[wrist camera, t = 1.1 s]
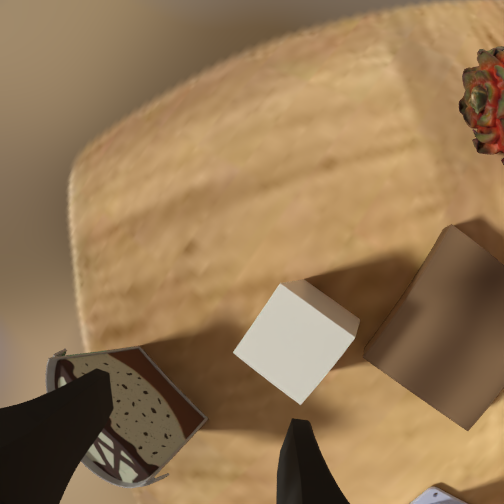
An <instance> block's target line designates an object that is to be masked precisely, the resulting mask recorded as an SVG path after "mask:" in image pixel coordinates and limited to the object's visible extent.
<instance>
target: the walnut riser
mask: <svg viewBox="0 0 504 504" xmlns="http://www.w3.org/2000/svg"><path fill="white" fill-rule="evenodd" d="M363 358H364V359H366V360H367V361H368V362H370V363H371V364H373V365H374V366H375V367H377V368H378V369H380V370H381V371H382V372H384V373H385V374H387V375H388V376H389V377H391V378H392V379H394V380H395V381H396V382H398V383H399V384H401V385H402V386H403V387H405V388H406V389H408V390H409V391H411V392H412V393H413V394H415V395H416V396H418V397H419V398H421V399H422V400H423V401H425V402H426V403H428V404H429V405H431V406H432V407H433V408H435V409H436V410H438V411H439V412H441V413H442V414H443V415H445V416H446V417H448V418H449V419H451V420H452V421H454V422H455V423H456V424H458V425H459V426H461V427H462V428H464V429H465V430H467V431H469V429H470V428H471V427H472V426H473V425H474V424H475V423H476V421H477V420H478V419H479V418H480V417H481V416H482V414H483V413H484V412H485V411H486V410H487V408H488V407H489V406H490V405H491V403H492V402H493V401H494V400H495V398H496V397H497V396H498V394H499V393H500V392H501V390H502V389H503V388H504V265H503V264H502V263H501V262H499V261H498V260H497V259H496V258H494V257H493V256H492V255H491V254H490V253H488V252H487V251H486V250H485V249H483V248H482V247H481V246H480V245H478V244H477V243H476V242H474V241H473V240H472V239H471V238H469V237H468V236H467V235H465V234H464V233H463V232H461V231H460V230H459V229H457V228H456V227H455V226H453V225H452V224H451V225H449V226H447V227H446V228H444V229H443V230H442V232H441V234H440V236H439V237H438V239H437V241H436V243H435V244H434V246H433V248H432V249H431V251H430V253H429V254H428V256H427V258H426V259H425V261H424V263H423V264H422V266H421V267H420V269H419V271H418V272H417V274H416V275H415V277H414V278H413V280H412V282H411V283H410V285H409V286H408V288H407V289H406V291H405V292H404V294H403V295H402V297H401V298H400V300H399V301H398V303H397V304H396V305H395V307H394V308H393V310H392V311H391V313H390V314H389V315H388V317H387V318H386V320H385V321H384V322H383V324H382V325H381V326H380V328H379V329H378V331H377V332H376V333H375V335H374V336H373V337H372V339H371V340H370V341H369V343H368V344H367V345H366V346H365V348H364V354H363Z"/></svg>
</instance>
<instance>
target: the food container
mask: <svg viewBox="0 0 504 504" xmlns="http://www.w3.org/2000/svg"><path fill="white" fill-rule="evenodd" d="M66 351H67V350H66V349H64V350H62V351H59V352H57V353H55V354H54V355H53V357H51V358H49V360H48V363H47V368H46V390H47V393H49V392H51V391H53V390H55V389H58V388H59V387H61V386H63V385H65V384H67V383H69V382H71V381H73V380H75V379H77V378H79V377H81V376H83V375H84V374H86V373H88V372H90V371H92V370H94V369H96V368H98V369H100V370H103V371H106V372H109V373H110V383H111V391H112V399H113V406H114V409H113V411H112V413H111V415H110V417H109V419H108V421H107V423H106V425H105V427H104V428H103V430H102V431H101V433H100V434H99V436H98V437H97V439H96V440H95V442H94V443H93V444H92V446H91V447H90V449H89V450H88V451H87V453H86V454H85V456H84V457H83V459H82V460H81V462H82V463H83V464H84V465H85V466H86V467H87V468H88V469H89V470H91V471H92V472H93V473H94V474H96V475H97V476H99V477H100V478H102V479H103V480H105V481H107V482H109V483H111V484H114V485H116V486H119V487H124V488H136V487H143V486H146V485H150V484H152V483H154V482H157V481H159V480H161V479H164V478H165V477H167V476H168V475H169V473H167V474H165V475H162V476H160V477H157V478H154V476H155V475H156V474H157V473H158V472H159V471H160V470H161V469H162V468H163V467H164V466H165V465H166V464H167V463H168V462H169V461H170V460H171V459H172V458H173V457H174V456H175V455H176V454H177V453H178V452H179V451H180V449H181V448H182V447H183V446H184V445H185V444H186V443H187V442H188V441H189V440H190V439H191V438H192V437H193V435H194V434H195V433H196V432H197V431H198V430H199V429H200V428H201V427H202V426H203V424H204V423H205V422H206V421H207V420H208V418H207V417H206V416H205V415H204V414H203V413H202V412H201V411H200V410H199V409H198V408H197V407H196V406H195V405H194V404H193V403H192V402H191V401H190V400H189V399H188V398H187V397H186V396H185V395H184V394H183V393H182V392H181V391H180V390H179V389H178V388H177V387H176V386H175V385H174V384H173V382H172V381H171V380H170V379H169V378H168V377H167V376H166V375H165V374H164V373H163V372H162V371H161V370H160V368H159V367H158V366H157V365H156V364H155V363H154V362H153V361H152V360H151V358H150V357H149V356H148V355H147V354H146V353H145V352H144V350H143V349H142V348H141V347H140V346H134V347H127V348H121V349H114V350H106V351H99V352H91V353H83V354H75V355H66V356H65V354H66Z"/></svg>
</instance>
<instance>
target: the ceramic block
mask: <svg viewBox="0 0 504 504" xmlns="http://www.w3.org/2000/svg"><path fill="white" fill-rule="evenodd" d="M359 323H360V319H359V318H358V317H356V316H355V315H353V314H352V313H351V312H349V311H348V310H346V309H345V308H344V307H342V306H341V305H339V304H338V303H337V302H335V301H334V300H332V299H331V298H330V297H328V296H327V295H325V294H324V293H323V292H321V291H320V290H318V289H317V288H316V287H314V286H313V285H311V284H310V283H308V282H307V281H306V280H304V279H302V280H296V281H290V282H285V283H280V284H279V286H278V287H277V289H276V290H275V292H274V293H273V295H272V296H271V298H270V299H269V301H268V302H267V304H266V305H265V307H264V308H263V310H262V311H261V313H260V314H259V315H258V317H257V318H256V320H255V321H254V323H253V324H252V326H251V327H250V329H249V330H248V332H247V333H246V334H245V336H244V337H243V339H242V340H241V342H240V343H239V345H238V346H237V347H236V349H235V350H234V352H233V353H234V354H235V355H236V356H238V357H239V358H240V359H241V360H243V361H244V362H245V363H246V364H248V365H249V366H250V367H251V368H253V369H254V370H255V371H256V372H258V373H259V374H260V375H262V376H263V377H264V378H265V379H267V380H268V381H269V382H271V383H272V384H273V385H274V386H276V387H277V388H278V389H280V390H281V391H282V392H284V393H285V394H286V395H288V396H289V397H290V398H292V399H293V400H294V401H296V402H297V403H299V404H300V405H301V404H302V403H303V402H304V400H305V399H306V398H307V397H308V396H309V395H310V394H311V392H312V391H313V390H314V389H315V388H316V387H317V385H318V384H319V383H320V382H321V381H322V379H323V378H324V377H325V376H326V374H327V373H328V372H329V371H330V370H331V368H332V367H333V366H334V365H335V363H336V362H337V361H338V360H339V358H340V357H341V356H342V355H343V353H344V352H345V351H346V349H347V348H348V347H349V345H350V344H351V343H352V341H353V340H354V339H355V337H356V334H357V330H358V327H359Z"/></svg>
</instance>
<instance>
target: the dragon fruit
mask: <svg viewBox="0 0 504 504" xmlns="http://www.w3.org/2000/svg"><path fill="white" fill-rule="evenodd" d="M503 50H504V47H502V46H501V47H496V48H493V49H491V50H489V51H485V50H483V49H480V50H479V51H478V52H477V55H478V57H477V61H478V63H479V66H478V67H473V68H466V69H464V71H463V75H462V78H463V85H464V88H465V90H466V91H465V94H464V96H463V98H462V99H461V100H460V101H459V111H460V113H461V114H462V115H463V118H464V120H465V122H466V123H467V125H468V126H469V127H471V128H477V129H478V130H477V132H476V131H475V130H474V129H473V131H474V134H475V137H476V139H473V140H472V141H473V143H474V146H475V148H476V149H477V152H478V153H483V154H496V153H498V152H499V151H502V152H503V153H504V51H503ZM501 161H502V163H503V165H504V158H503V159H502V160H501Z"/></svg>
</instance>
